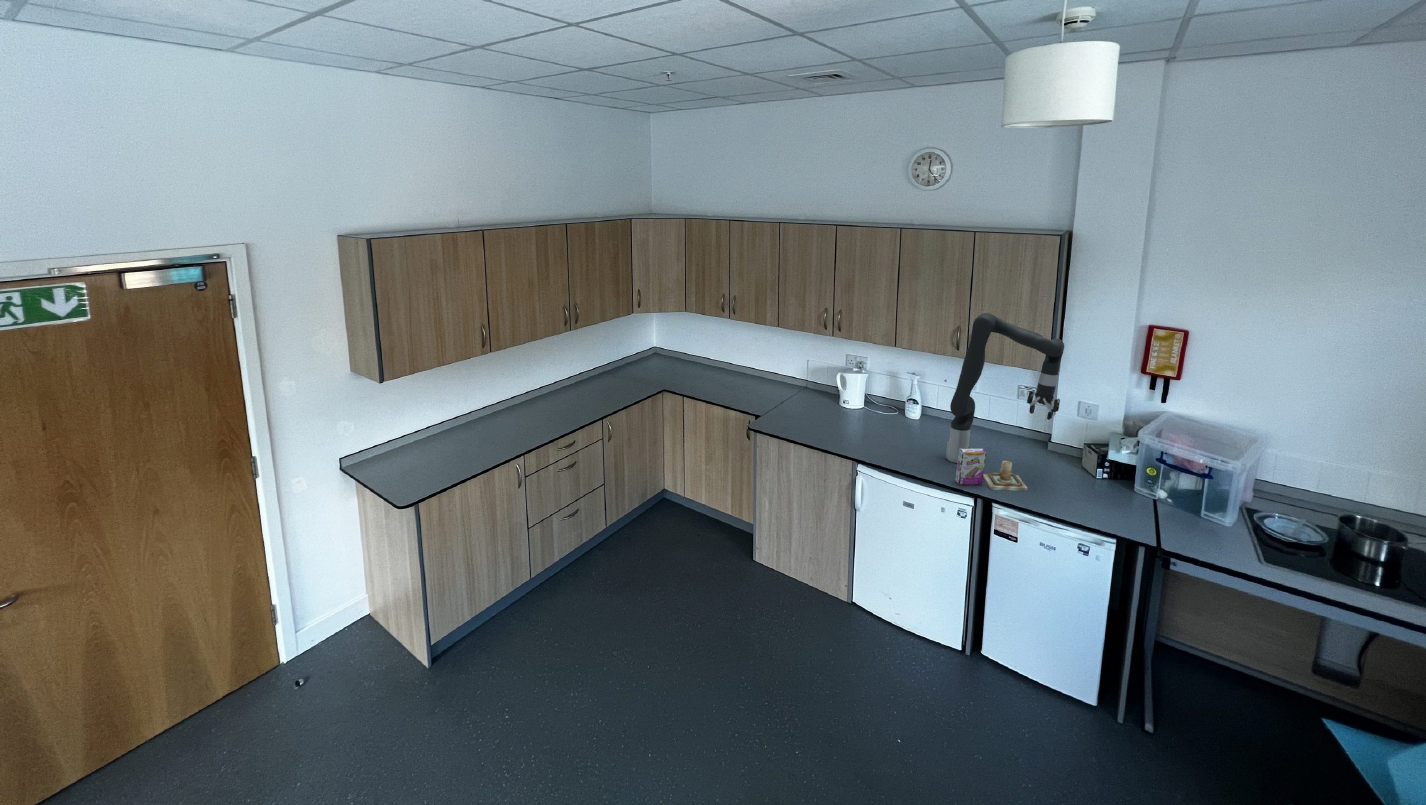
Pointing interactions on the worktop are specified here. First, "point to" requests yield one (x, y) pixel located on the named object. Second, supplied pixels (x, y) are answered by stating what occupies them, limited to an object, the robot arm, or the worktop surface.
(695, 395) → the worktop surface
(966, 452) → the candy bar box
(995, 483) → the picture frame
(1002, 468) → the beech bobbin
